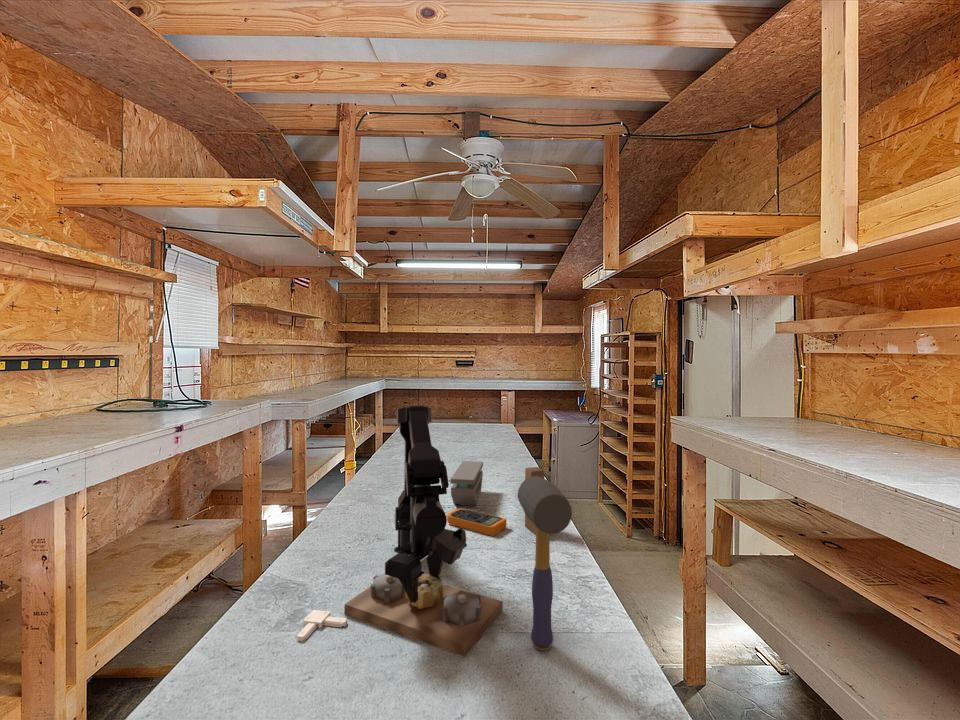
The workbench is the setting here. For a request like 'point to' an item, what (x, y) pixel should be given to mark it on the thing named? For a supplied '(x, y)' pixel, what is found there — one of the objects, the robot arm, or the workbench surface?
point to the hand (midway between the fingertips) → (424, 593)
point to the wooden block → (528, 473)
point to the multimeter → (476, 521)
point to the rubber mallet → (543, 548)
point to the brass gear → (428, 592)
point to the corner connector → (319, 623)
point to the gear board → (427, 614)
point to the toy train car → (467, 483)
